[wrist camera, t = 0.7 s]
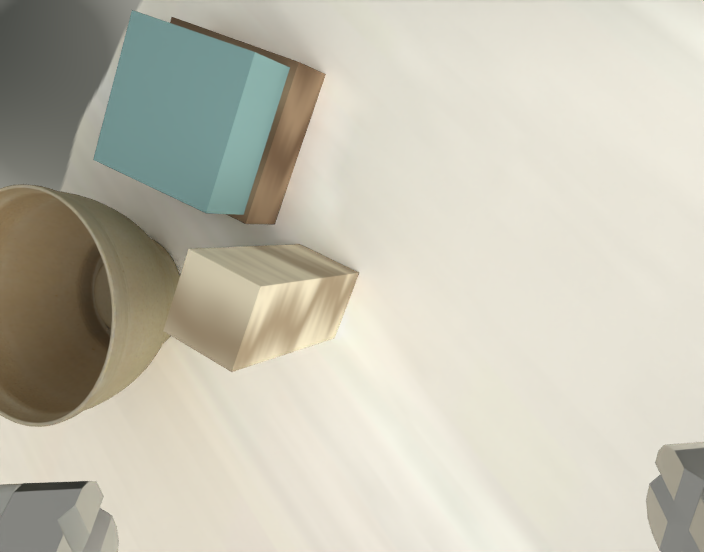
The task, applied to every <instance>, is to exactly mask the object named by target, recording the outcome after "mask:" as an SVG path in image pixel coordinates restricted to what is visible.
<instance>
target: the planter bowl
mask: <svg viewBox="0 0 704 552" xmlns="http://www.w3.org/2000/svg"><path fill="white" fill-rule="evenodd" d="M179 278H180V276H179V273H178V270H177V267H176V265H175V263H174V261H173V260H172V258H171V256H170V255H169V254H168V252H167V251H166V250H165V249H164V248H163V247H162V246H161V245H160V244H159V243H157V242H156V241H155V240H153V239H151V238H150V237H149V236H148V235H147V234H146V233H145V232H144V231H143V230H142V229H141V228H140V227H139V226H137V225H136V224H135V223H134V222H133V221H131V220H130V219H128V218H127V217H126V216H124V215H123V214H121V213H119V212H118V211H116V210H114V209H112V208H110V207H108V206H106V205H104V204H102V203H100V202H97V201H95V200H92V199H89V198H86V197H83V196H79V195H75V194H71V193H66V192H60V191H55V190H53V189H50V188H46V187H42V186H36V185H24V184H21V185H11V186H7V187H4V188H1V189H0V415H1V416H3V417H5V418H6V419H8V420H11V421H13V422H15V423H18V424H22V425H26V426H36V427H42V426H50V425H54V424H57V423H60V422H63V421H66V420H68V419H70V418H72V417H74V416H76V415H78V414H79V413H81V412H82V411H84V410H86V409H89V408H91V407H94V406H96V405H98V404H100V403H102V402H104V401H106V400H108V399H109V398H111V397H113V396H114V395H116V394H117V393H119V392H120V391H122V390H123V389H124V388H126V387H127V386H128V385H129V384H131V383H132V382H133V381H134V380H135V379H136V378H137V377H138V376H139V375H140V374H141V373H142V372H143V371H144V370H145V369H146V368H147V367H148V365H149V364H150V363H151V361H152V360H153V359H154V357H155V356H156V354H157V353H158V351H159V349H160V348H161V346H162V344H163V343H164V342H165V341H166V340H167V339H168V338H169V337H170V336H171V335H169V334H167V333H166V332H164V331H163V330H164V327H165V324H166V320H167V317H168V314H169V311H170V307H171V304H172V301H173V298H174V294H175V291H176V288H177V285H178V281H179Z"/></svg>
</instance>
